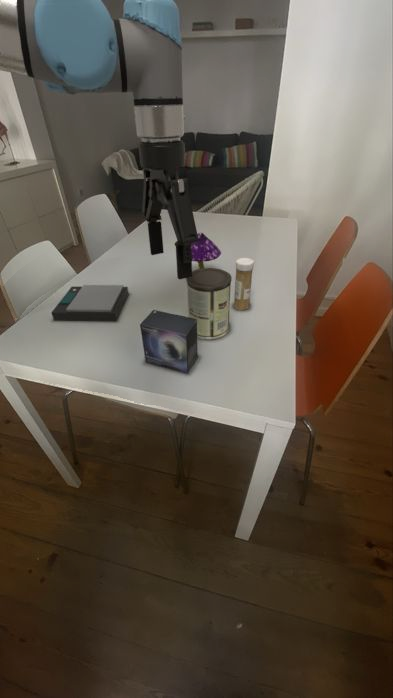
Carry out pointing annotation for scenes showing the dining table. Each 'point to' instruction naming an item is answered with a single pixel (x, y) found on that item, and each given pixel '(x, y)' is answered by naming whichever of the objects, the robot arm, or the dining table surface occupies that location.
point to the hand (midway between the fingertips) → (170, 264)
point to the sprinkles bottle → (243, 283)
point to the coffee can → (209, 301)
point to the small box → (170, 340)
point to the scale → (91, 303)
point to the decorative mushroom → (204, 250)
